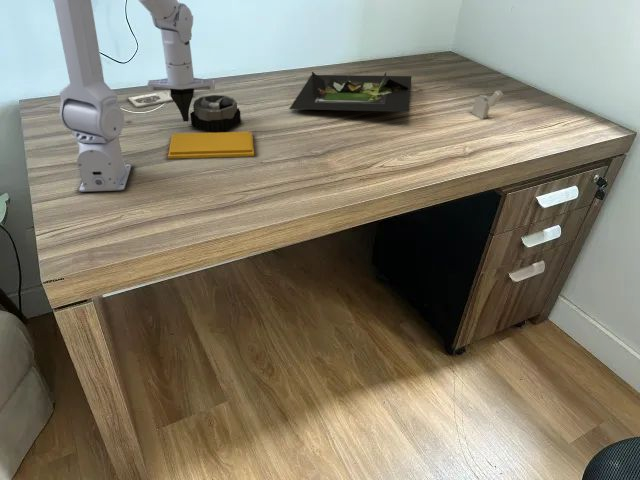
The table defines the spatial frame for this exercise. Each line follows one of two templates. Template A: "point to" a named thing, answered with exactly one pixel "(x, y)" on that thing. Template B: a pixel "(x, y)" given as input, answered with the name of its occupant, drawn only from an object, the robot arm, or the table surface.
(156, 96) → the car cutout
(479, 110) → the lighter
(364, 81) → the black plate with food
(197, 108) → the cpu cooler
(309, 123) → the table surface
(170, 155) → the tray
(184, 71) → the robot arm
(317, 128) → the table surface
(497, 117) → the table surface
